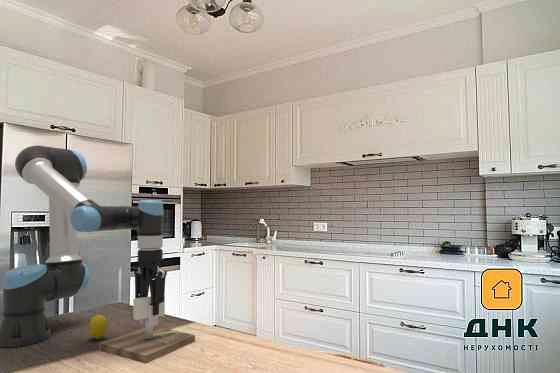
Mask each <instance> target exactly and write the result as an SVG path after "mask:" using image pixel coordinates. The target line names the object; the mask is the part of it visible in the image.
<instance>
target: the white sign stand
mask: <svg viewBox="0 0 560 373" xmlns="http://www.w3.org/2000/svg"><path fill="white" fill-rule="evenodd" d="M132 304H133V308H132V310H133V314H132V316H133V318H132V319H133V320H134V321H140V319H145V324H144V328H145V339H152V338H153V337H154V336H159V335H164V334H169V333H174V332H177V331H178V330H177V329H175V330H174V331H169V332H164V333H158V334H153V326H152V327H149V304H151V295H150V296H148V297H142V298H135V297H134V298H133V303H132ZM165 308H166V296H165V295H164V302H162V303H160V304H159V314H158V317H163V316H164V317H165V315H166V314H165V312H166V311H165V310H166V309H165Z"/></svg>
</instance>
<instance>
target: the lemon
mask: <svg viewBox="0 0 560 373" xmlns="http://www.w3.org/2000/svg"><path fill="white" fill-rule="evenodd" d="M89 321H90V322H89V325H88V333H89V335H90V336H91V337H92V338H94V339H96V340H100V338H102V337H103V336H105V335H106V333H107V331H108V321H107V319H106V317H105V316H104V315H101V314H99V313H98V314H97V315H95V316H94V317H92V318H91V319H90V320H89Z"/></svg>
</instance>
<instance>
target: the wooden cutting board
mask: <svg viewBox="0 0 560 373" xmlns="http://www.w3.org/2000/svg"><path fill="white" fill-rule="evenodd" d="M169 331H174V330H173V329H170V328H169V329H168V328H166V327H165V328H164V327H160V326H156V325H155V326H153V334H158V333H164V332H169ZM193 342H194V343H195V342H196V334H193V333H188V332H183V331H178V330H177V332H174V333H169V334H164V335H159V336H154V337H153V338H152V339H145V327H142V328H140V329H137V330H135V331H132V332H129V333H126V334H123V335H119V336H117V337H115V338H114V337H113V338H111V339H108V340H105V341H103V342H99V344H98V346H99V349H98V350H99V351H101V352H104V353H109V354H112V355H115V356H118V357H119V356H120V357H123V358H127V359H130V360H134V361H136V362H140V363H144V364H147V363H149V362H152V361H155V360H156V359H158V358H160V357H161V358H162V357H163V356H166V355H167V354H170V353H172V352H174V351H176V350H179V349H181V348H183V347H185V346H188V345H190V344H192V343H193Z"/></svg>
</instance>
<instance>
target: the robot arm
mask: <svg viewBox="0 0 560 373" xmlns="http://www.w3.org/2000/svg"><path fill="white" fill-rule="evenodd" d="M14 167H15V171H16V172H17V174H18V176H19V177H20V178H21V179H23V180H24V181H25V182H26V183H28V184H31V185H34V186H36V187H37V188H38V189H39V190H40V191H41V192H42V193H43V194H45V195H46V196H47V197H48V211H49V212H48V213H49V217H48V218H49V223H48V224H49V257H48V258H47V259H46V260H45V263H44V264H43V263H42V264H41V263H39V264H38V263H36V264H30V265H23V266H17V267H16V268H13V269H10V270H8V271H7V272H6V273H5V274H4V277H3V278H4V279H3V284H2V288H3V289H2V290H3V292H2V298H3V299H2V318H1V321H0V348H16V347H25V346H29V345H34V344H37V343H41V342H44V341H45V340H47V339H48V338H50V337H51V332H52V331H51V329H52V328H51V327H50V323H49V320H48V317H47V315H46V303H47V302H53V301H57V300H62V299H65V298H72V297H74V296H77V295H80V294H82V293H83V292H84V291H85V290H86V289H87V287H88V285H89V282H90V274H91V272H90V269H89V268H88V265H87V264H86V263H85V262H83V258H82V257H81V256H80V255H78V239H77V236H78V235H77V233H84V232H85V233H93V232H105V231H120V230H123V231H124V230H137V249H138V250H137V258H136V259H137V260H136V261H137V263H138V262H139V267H134V268H133V274H134V299H135V298H142V297H149V294H150V296H151V304H149V327H152V326H155V327H156V326H158V325H159V316H158V314H159V304H160V303H162V302H164V296H165V292H166V291H165V289H166V278H167V275H168V274H167V273H168V272H167V270H163V269H162V267H161V262H162V261H163V260H164V258H163V257H164V256H163V254H164V253H163V252H164V251H163V249H162V248H163V247H164V246H163V245H164V244H163V238H164V237H163V236H164V214H165V212H164V202H163V201H162V200H158V199H155V200H154V199H141V200H138V205H137V206H132V205H131V206H130V205H129V206H127V205H118V206H117V205H116V206H114V205H113V206H112V205H105V206H104V205H99V204H98V203H96V202H95V201H94V200H92V198H90V197H89V196H88V195H87V194H86V193H84V192H83V191H81V189H79V188H78V187H79V186H80V185H81V181H83V180H84V179H85V177H86V176H85V175H87V170H88V164H87V161H86V158H85V157H84V156H83V155H82V154H81V153H80V152H78V151H76V150H72V149H68V148H60V147H54V146H53V147H52V146H45V145H39V144H38V145H30V146H27V147H26V148H23V149H22V150H21V151H20V152H19V153H18V154H17V156H16V158H15V161H14ZM149 292H150V293H149ZM139 324H140V325H145V319H140V320H139Z"/></svg>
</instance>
